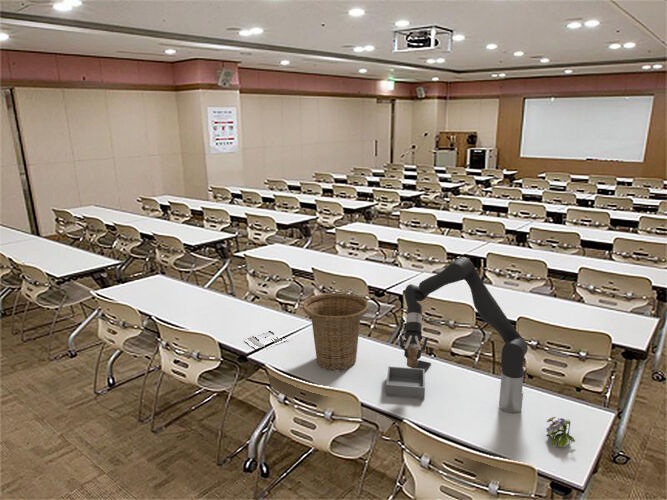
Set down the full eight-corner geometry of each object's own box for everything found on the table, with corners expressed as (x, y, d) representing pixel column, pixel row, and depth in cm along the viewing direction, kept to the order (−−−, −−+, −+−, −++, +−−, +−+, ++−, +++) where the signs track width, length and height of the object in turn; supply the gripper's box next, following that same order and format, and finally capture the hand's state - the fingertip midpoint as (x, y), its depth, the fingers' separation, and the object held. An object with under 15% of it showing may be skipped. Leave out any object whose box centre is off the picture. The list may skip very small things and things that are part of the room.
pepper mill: (417, 362, 233) (418, 342, 230) (417, 368, 228) (418, 347, 225) (406, 361, 233) (407, 342, 230) (406, 367, 229) (407, 346, 226)
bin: (424, 379, 245) (424, 368, 243) (424, 399, 228) (424, 387, 226) (388, 377, 248) (388, 366, 246) (385, 396, 231) (386, 384, 229)
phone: (407, 372, 251) (418, 359, 264) (407, 374, 251) (417, 361, 264) (422, 375, 247) (432, 363, 260) (422, 377, 248) (431, 365, 260)
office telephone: (258, 348, 277) (240, 337, 292) (258, 352, 277) (241, 341, 292) (291, 336, 291) (273, 326, 306) (291, 340, 292) (273, 330, 307)
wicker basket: (333, 384, 241) (332, 322, 233) (291, 360, 267) (289, 303, 258) (381, 361, 264) (382, 304, 255) (338, 341, 289) (338, 288, 280)
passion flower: (548, 447, 202) (549, 417, 206) (577, 451, 196) (577, 420, 200) (542, 445, 193) (543, 413, 197) (572, 450, 187) (573, 417, 191)
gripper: (399, 320, 234) (397, 354, 225) (429, 322, 231) (428, 357, 223) (399, 325, 240) (397, 359, 232) (428, 327, 238) (427, 361, 230)
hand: (412, 357), depth 228 cm, fingers closed on pepper mill, 5 cm apart
